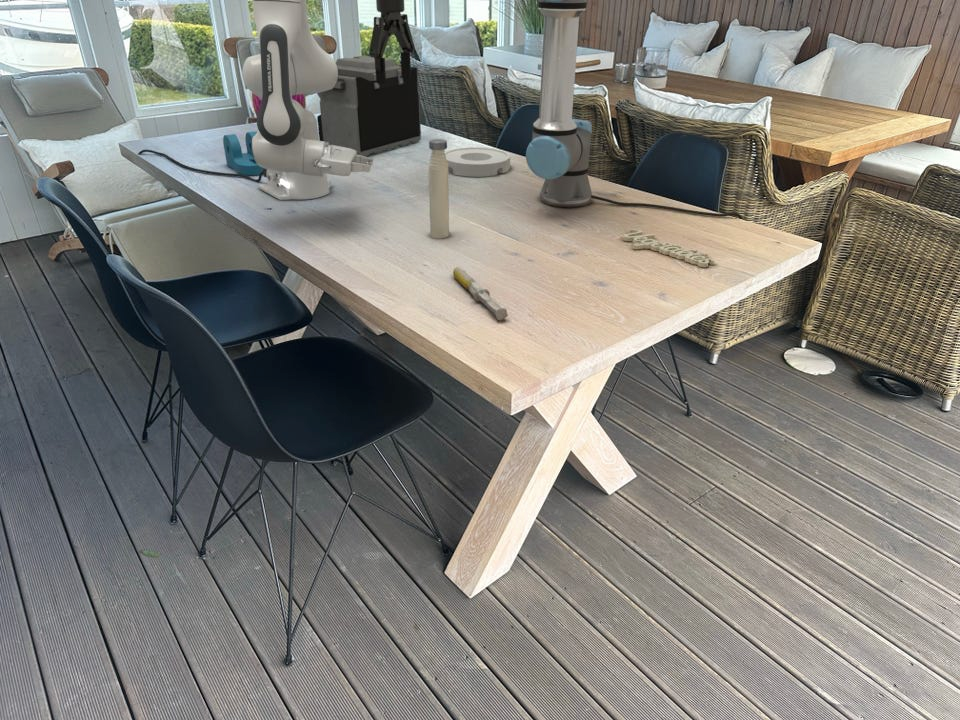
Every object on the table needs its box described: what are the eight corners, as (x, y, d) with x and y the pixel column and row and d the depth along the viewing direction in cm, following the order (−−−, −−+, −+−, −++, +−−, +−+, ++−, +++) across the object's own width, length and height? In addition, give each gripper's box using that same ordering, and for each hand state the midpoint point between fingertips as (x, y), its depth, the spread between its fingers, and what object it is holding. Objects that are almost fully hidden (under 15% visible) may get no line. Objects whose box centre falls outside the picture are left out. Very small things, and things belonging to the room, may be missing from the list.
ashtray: (444, 158, 243) (444, 146, 241) (509, 159, 243) (510, 147, 241) (439, 176, 224) (438, 163, 222) (510, 177, 223) (510, 165, 221)
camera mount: (227, 164, 233) (221, 132, 227) (257, 160, 238) (252, 129, 233) (244, 176, 220) (239, 143, 215) (276, 172, 225) (271, 139, 220)
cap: (425, 147, 166) (425, 140, 165) (440, 145, 168) (440, 138, 167) (435, 151, 163) (435, 143, 162) (450, 148, 165) (450, 141, 164)
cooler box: (383, 133, 276) (378, 52, 261) (425, 141, 265) (422, 56, 250) (314, 150, 251) (304, 61, 235) (358, 160, 240) (350, 67, 224)
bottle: (427, 234, 177) (424, 141, 166) (442, 230, 180) (441, 139, 168) (436, 239, 174) (434, 145, 162) (452, 236, 176) (451, 143, 165)
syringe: (449, 274, 155) (449, 263, 153) (465, 272, 156) (464, 260, 154) (490, 323, 135) (491, 310, 133) (508, 319, 136) (508, 307, 134)
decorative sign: (608, 236, 174) (633, 227, 180) (608, 240, 175) (632, 231, 180) (698, 267, 157) (722, 256, 163) (698, 271, 158) (721, 260, 163)
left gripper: (312, 152, 166) (369, 159, 168) (323, 140, 185) (374, 146, 186) (311, 178, 169) (368, 185, 171) (322, 164, 187) (373, 170, 189)
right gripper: (401, -7, 195) (405, 73, 206) (351, -4, 176) (358, 85, 187) (424, -6, 193) (426, 75, 203) (376, -3, 173) (381, 87, 184)
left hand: (371, 165), depth 179 cm, fingers open, 8 cm apart
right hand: (394, 80), depth 195 cm, fingers open, 13 cm apart
